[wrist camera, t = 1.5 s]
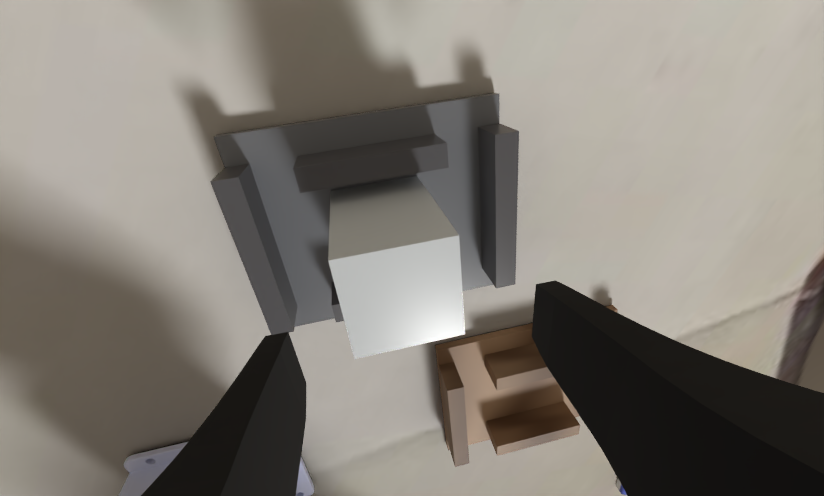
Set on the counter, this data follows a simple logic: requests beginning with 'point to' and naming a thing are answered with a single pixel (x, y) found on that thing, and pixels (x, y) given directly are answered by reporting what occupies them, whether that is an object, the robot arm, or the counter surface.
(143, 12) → the counter surface
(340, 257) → the plug block
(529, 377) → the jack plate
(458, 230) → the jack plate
